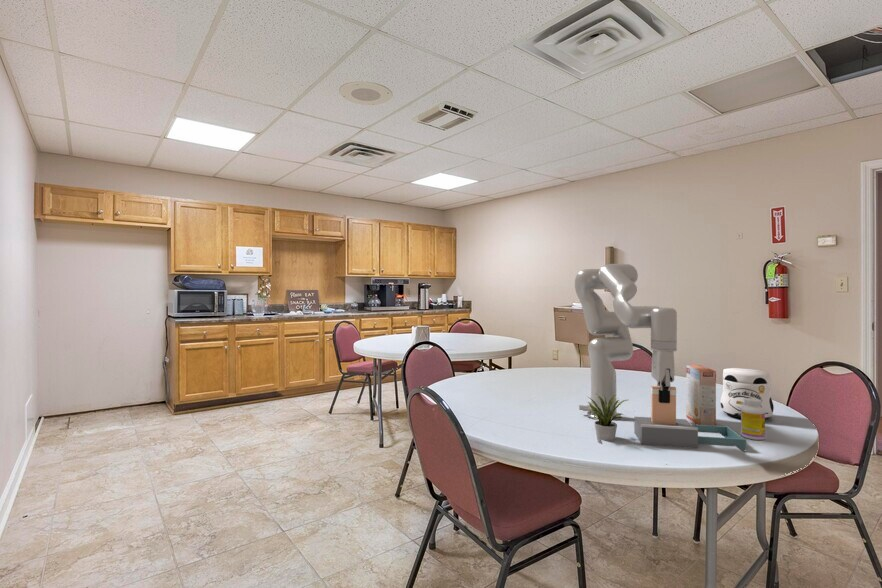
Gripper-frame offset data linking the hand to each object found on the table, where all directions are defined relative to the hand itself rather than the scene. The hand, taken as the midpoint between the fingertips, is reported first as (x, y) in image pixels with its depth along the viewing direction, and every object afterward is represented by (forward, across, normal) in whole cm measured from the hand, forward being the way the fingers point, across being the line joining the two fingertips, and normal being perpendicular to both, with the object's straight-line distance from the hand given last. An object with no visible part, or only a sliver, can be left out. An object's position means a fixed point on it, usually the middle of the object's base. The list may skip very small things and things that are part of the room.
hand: (663, 401), depth 143 cm
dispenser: (+14, 0, 0) cm, 14 cm away
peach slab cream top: (+7, 0, 0) cm, 7 cm away
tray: (+14, -6, +16) cm, 22 cm away
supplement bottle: (+14, -14, +31) cm, 37 cm away
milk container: (+14, -42, +40) cm, 60 cm away
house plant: (+14, +2, -17) cm, 22 cm away
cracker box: (+14, -30, +20) cm, 39 cm away
